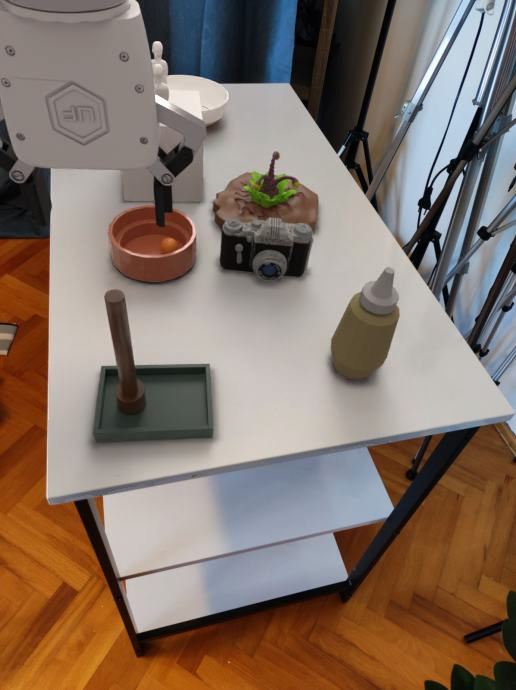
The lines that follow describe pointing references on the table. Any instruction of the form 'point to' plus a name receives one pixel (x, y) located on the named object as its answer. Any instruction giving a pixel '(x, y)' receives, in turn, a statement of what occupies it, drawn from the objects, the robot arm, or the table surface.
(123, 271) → the copper shallow cylinder
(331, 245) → the table surface
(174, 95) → the white figure sculpture
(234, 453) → the table surface
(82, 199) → the table surface
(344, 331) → the squeeze bottle
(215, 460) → the table surface
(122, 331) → the brown wooden rod
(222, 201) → the plant
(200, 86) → the bowl
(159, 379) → the spoon tray
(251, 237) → the camera
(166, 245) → the ball
